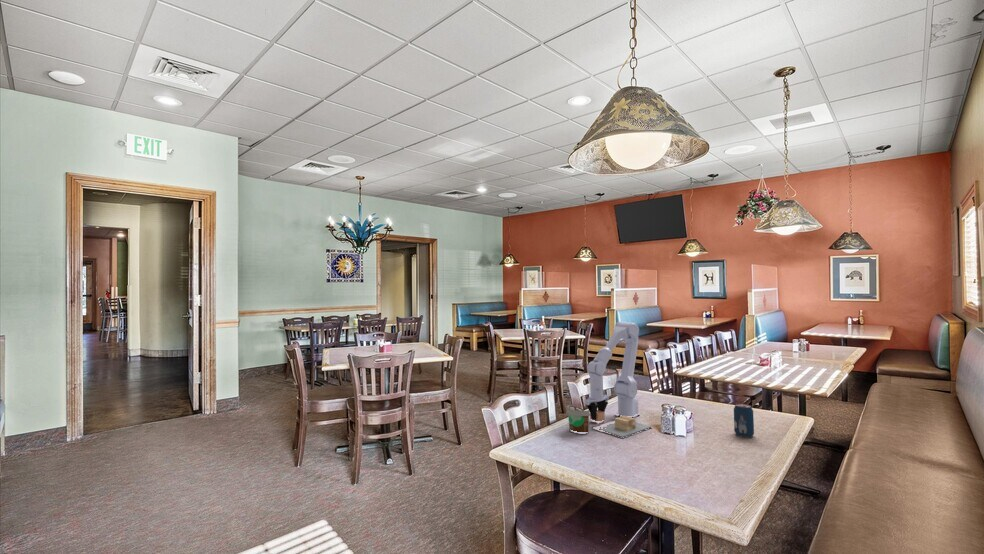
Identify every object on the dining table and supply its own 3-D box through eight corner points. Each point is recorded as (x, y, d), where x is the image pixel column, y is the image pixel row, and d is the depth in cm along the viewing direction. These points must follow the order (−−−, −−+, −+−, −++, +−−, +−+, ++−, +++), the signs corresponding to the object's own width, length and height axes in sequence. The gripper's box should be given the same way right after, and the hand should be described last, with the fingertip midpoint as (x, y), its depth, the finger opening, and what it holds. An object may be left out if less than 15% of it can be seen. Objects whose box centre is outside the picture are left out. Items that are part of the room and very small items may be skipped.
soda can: (749, 432, 182) (748, 403, 182) (757, 438, 175) (756, 407, 175) (731, 432, 182) (730, 403, 183) (739, 438, 175) (738, 407, 176)
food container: (561, 428, 191) (560, 405, 191) (572, 426, 194) (572, 403, 194) (578, 437, 180) (577, 412, 180) (590, 435, 183) (589, 410, 183)
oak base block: (623, 424, 192) (623, 415, 193) (635, 428, 188) (635, 418, 188) (615, 427, 189) (614, 418, 189) (627, 431, 184) (626, 421, 184)
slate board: (620, 419, 202) (620, 418, 202) (651, 428, 189) (651, 426, 189) (591, 429, 190) (591, 427, 190) (622, 438, 177) (622, 436, 177)
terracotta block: (596, 419, 203) (596, 409, 203) (604, 421, 200) (604, 411, 200) (590, 421, 201) (590, 411, 201) (598, 423, 197) (598, 413, 197)
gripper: (600, 384, 208) (600, 413, 208) (579, 388, 199) (579, 419, 199) (612, 386, 203) (613, 416, 202) (591, 391, 194) (592, 422, 193)
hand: (597, 418), depth 200 cm, fingers closed on terracotta block, 4 cm apart
